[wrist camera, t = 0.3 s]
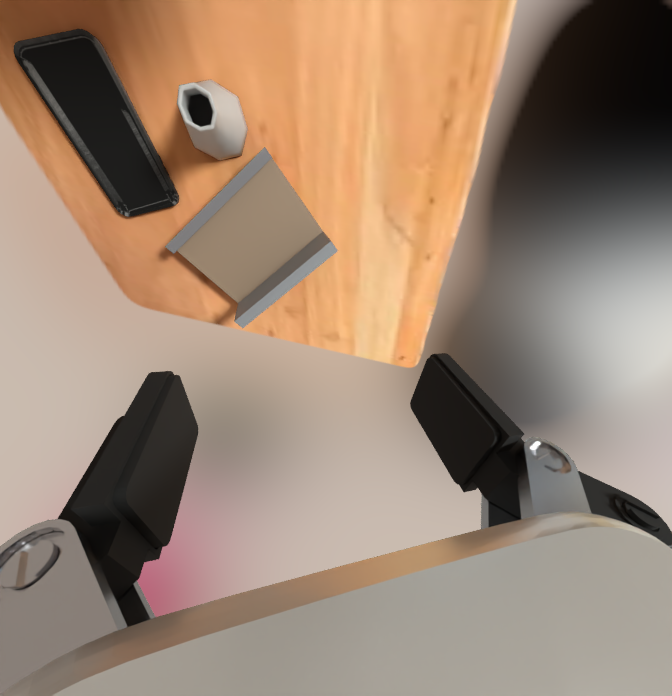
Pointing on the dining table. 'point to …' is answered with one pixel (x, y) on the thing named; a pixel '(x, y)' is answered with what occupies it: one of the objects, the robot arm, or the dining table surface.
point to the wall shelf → (254, 238)
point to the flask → (213, 118)
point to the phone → (98, 118)
